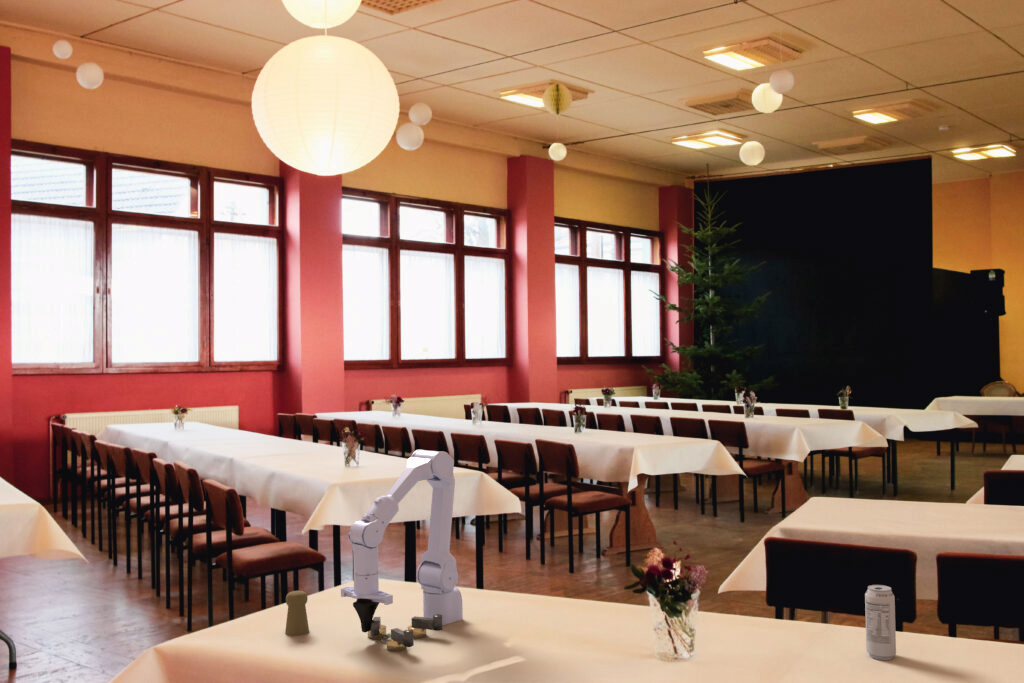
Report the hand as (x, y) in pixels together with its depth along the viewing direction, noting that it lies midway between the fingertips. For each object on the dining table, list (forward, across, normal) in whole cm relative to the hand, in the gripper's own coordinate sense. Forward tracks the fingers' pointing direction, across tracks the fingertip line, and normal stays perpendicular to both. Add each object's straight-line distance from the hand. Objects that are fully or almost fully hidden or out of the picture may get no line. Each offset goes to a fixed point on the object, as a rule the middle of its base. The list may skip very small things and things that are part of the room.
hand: (366, 631), depth 211 cm
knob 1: (+3, 0, +3) cm, 4 cm away
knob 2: (+3, +11, 0) cm, 11 cm away
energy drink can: (+4, +103, +52) cm, 116 cm away
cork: (+4, -21, -2) cm, 21 cm away
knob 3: (+3, +9, +11) cm, 14 cm away
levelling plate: (+4, +4, +5) cm, 7 cm away
